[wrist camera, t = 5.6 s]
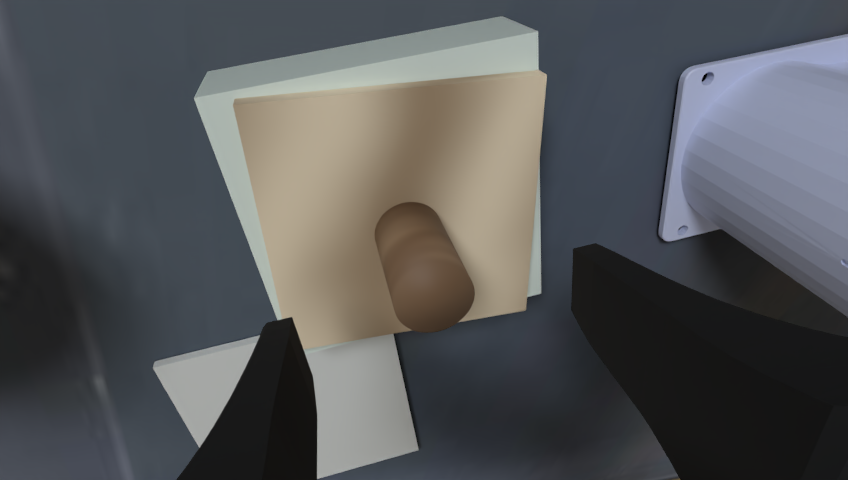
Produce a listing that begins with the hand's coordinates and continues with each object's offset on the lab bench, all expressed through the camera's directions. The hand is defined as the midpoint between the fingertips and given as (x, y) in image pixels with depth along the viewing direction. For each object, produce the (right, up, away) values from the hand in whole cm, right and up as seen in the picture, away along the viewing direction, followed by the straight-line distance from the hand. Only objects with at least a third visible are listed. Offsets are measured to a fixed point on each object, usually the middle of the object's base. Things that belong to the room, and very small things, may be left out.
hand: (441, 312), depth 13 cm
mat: (-6, -6, +12) cm, 15 cm away
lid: (-1, +3, +5) cm, 5 cm away
